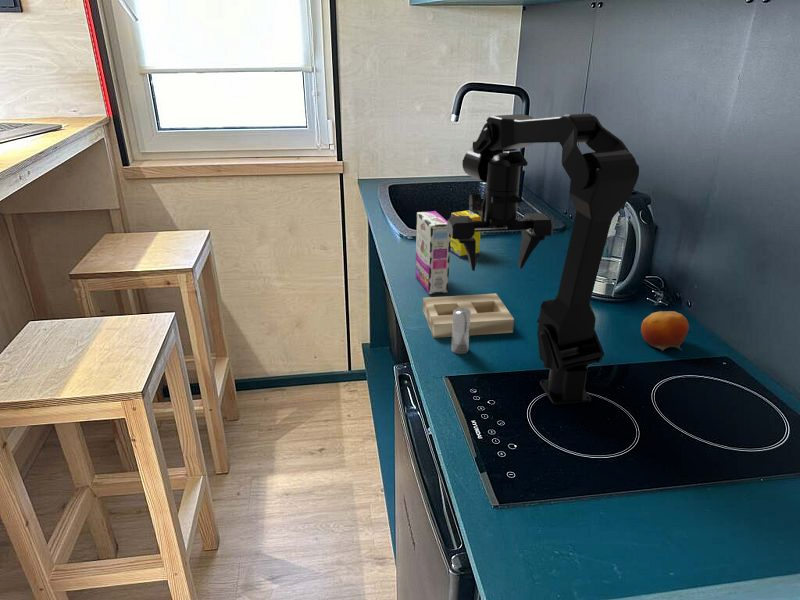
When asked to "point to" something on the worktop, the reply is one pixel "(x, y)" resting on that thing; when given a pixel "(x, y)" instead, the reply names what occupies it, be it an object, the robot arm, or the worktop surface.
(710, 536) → the worktop surface
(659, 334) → the fruit
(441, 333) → the socket block
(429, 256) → the candy bar box
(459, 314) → the pin
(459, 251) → the supplement box
